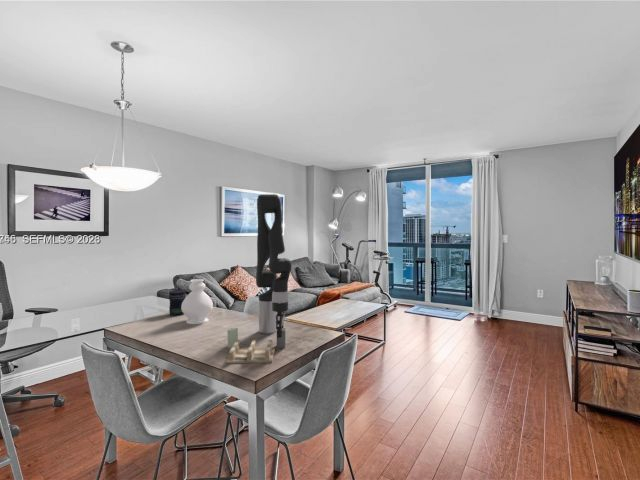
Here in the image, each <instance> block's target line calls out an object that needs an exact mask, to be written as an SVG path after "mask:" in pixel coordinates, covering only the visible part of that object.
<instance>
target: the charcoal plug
mask: <svg viewBox="0 0 640 480" xmlns="http://www.w3.org/2000/svg"><path fill="white" fill-rule="evenodd" d="M286 329H287V327H286V328H284V327H283V328H282V337H281V338H277V337H276V349H277V348H279V349H281V348H283V349H286V345H287V343H286V340H287V339H286V338H287V336H286V334H287V331H286Z"/></svg>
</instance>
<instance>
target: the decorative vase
mask: <svg viewBox="0 0 640 480" xmlns="http://www.w3.org/2000/svg"><path fill="white" fill-rule="evenodd" d="M204 281H205V279H204V278H193V279H190V282H191V283H189V286H188V289H189V290H190V291H191V292H189V293H188V294H187V296H185V299H184V301H183V302H182V306H181V309H182V312H183V313H184V316H185V317H186V318H187V320H186V321H185V322H186V324H189V325H201V324H205V323H208V322H209V318H208V315H210V313H211V311H212V310H213V308H214V303H213V300H212V298H211V297H210V296H209V295H208V294H207V293H206V292H205V291H204V290H205V289H206V284H205V283H204Z"/></svg>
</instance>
